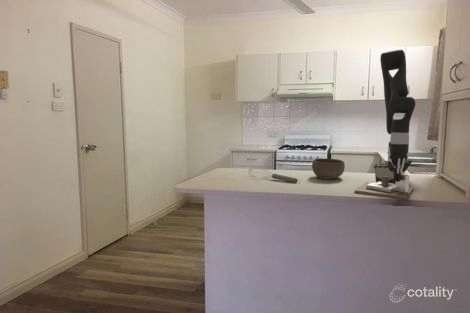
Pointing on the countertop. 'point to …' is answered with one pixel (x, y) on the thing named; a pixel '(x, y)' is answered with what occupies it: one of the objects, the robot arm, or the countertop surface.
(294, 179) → the kitchen whisk
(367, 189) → the post board
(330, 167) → the bowl
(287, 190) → the countertop surface
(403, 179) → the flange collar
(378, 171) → the food container
